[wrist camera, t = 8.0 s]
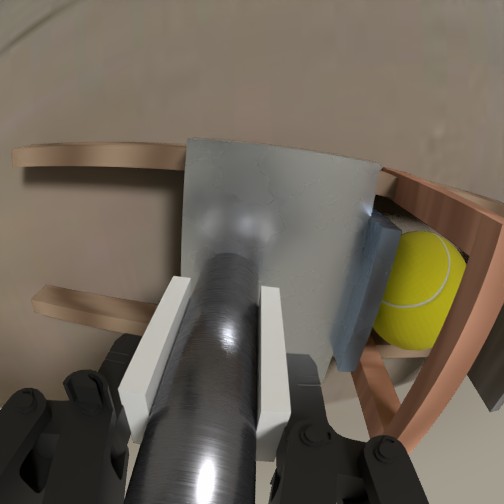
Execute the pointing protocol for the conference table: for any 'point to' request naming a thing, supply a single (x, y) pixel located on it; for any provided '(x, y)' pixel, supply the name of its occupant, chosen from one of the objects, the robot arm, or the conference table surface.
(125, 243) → the conference table surface
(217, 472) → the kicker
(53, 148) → the lane
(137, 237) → the conference table surface
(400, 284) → the tennis ball
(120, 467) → the robot arm
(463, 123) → the conference table surface
